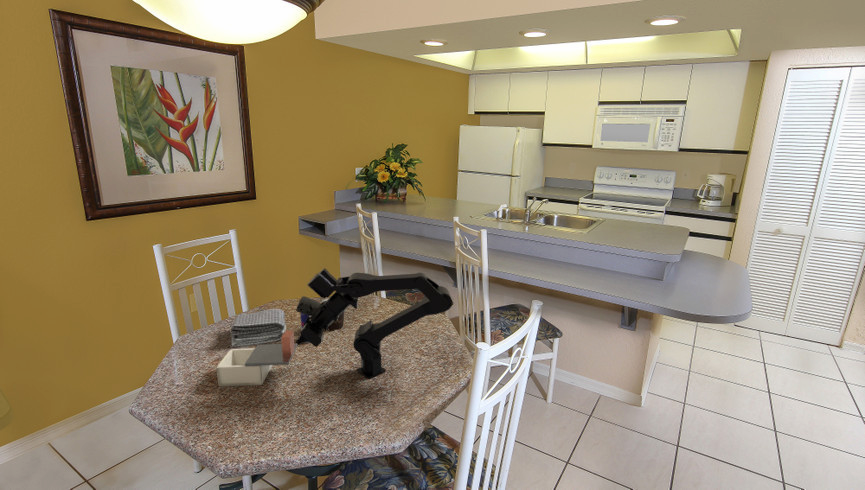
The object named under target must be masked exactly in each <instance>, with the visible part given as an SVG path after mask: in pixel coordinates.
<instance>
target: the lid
mask: <svg viewBox="0 0 865 490" xmlns="http://www.w3.org/2000/svg"><path fill="white" fill-rule="evenodd" d="M294 333H295V332H294V330H286V331H285V332H284V334H283V335H282V337H281V340H280V341H281V343H274V344H273V343H271V344H269V343H264V344H257V345H256V347H255V349H254V351H253V352H252V354H251V355H250V357H249V358H248V360H247V361H246V362H245V366H263V365H272V366H288V365H289V364H290V362H291V361H292V358H293V356H294V354H295V352H296V350H297V348H298V344H297V343H295V337H294V336H295V335H294Z"/></svg>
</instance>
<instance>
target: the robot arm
mask: <svg viewBox="0 0 865 490" xmlns="http://www.w3.org/2000/svg"><path fill="white" fill-rule="evenodd" d="M306 285H307V287H308V288H310V289H311V290H312V291H314V292H315V294H317V295H318V296H319V297H320V298H324V300H325V299H328V298H329V299H328V300H327V301H326V300H325V301H323V300H322V301H323V302H322V301H321V302H318V301H316V300H314V299H312V298H310V297H307V296H304V295H303V296H302V297H301V298H300V300H299V302H298V304H297V307H296V308H295V311H296V312H298V313H302V314H305V315H309V316H311V317H309V316H308V317H307V319H306V322H305V323H304V325H303V328H302V329H301V328H300V329H301V330H300V331H299V334H300V335H299V336H298V338H297V340H295V342H296V343H295V344H297V345H301V344H304V343H306V342H307V341H309V342H310V343H309V344H311V345H312V346H313V347H315V348H317V347H318V346H320V344H321V343H322V342H323V340H324V331H325V332H326V331H327V330H328V327H329V325H330V324H331V323H332V322H333V321H336V320H337V319H338V316H339V315H340V314H341V313H342V312H344V313H345V311H346V310H347V309H348V308H349V307H350V306H352V307H353V308H354V309H358V306H359V298H362V297H367V296H370V295H372V294H374V293H377V292H387V291H389V292H390V291H401V290H402V291H403V290H404V291H405V290H418V291H420V292H421V293H422V294H423V295H424V297H423V298H422V299H421V300H420V301H418V302H416V303H414V304H413V305H411V306H408V307H407V308H405V309H404V310H401V311H399V312H397V313H396V314H394V315H392V316H390V317H388V318H386V319H384V320H383V321H380V322H378V323H373V320H371V319H370V320H369V321H367V322H366V323H364V324H361V325H359V328H357V329H356V331H355V334H354V339H353V343H352V344H353V348H354V350H355V351H356V352H358V353H359V356H360V366H361V367H358V368H357V372H358V373H359V374H361V375H363V376H364V377H365V378H367V379H371V378H374V377H377V376H379V375H381V374H383V373H385V372H386V371H387V370H386V369H385V368H384V367H383V366H382V354H381V346H382V345H381V344H382V341H383V340H384V339H385V338H387V337H388V336H390V335H392V334H394V333H396V332H398V331H399V330H401V329H404V328H405V327H407V326H409V325H412V324H413V323H415V322H417V321H419V320H420V319H422V318H424V317H427V316H434V315H435V316H436V315H440V314H442V313H444V312H447V311H449V310H450V309H451V308H452V305H453V299H452V296H451V293H450V291H449V289H448V288H447V287H445V286H441V285H439V284H438V283H437V282H435V281H434V280H433V279H431V278H429V277H428V276H427V275H426V274H425V273H423V272H417V273H405V274H389V275H375V274H371V273H365V272H354V273H351V274H350V276H342V277H338V278H335V277H334V275H332V274H331V273H330V272H329V271H328V269H326V268H323V269H322V270H320V271H319V272H318V273H316V274H315V275H314V276H313V277H312V278H311V279H310V280H309V282H308V283H307V284H306Z"/></svg>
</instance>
